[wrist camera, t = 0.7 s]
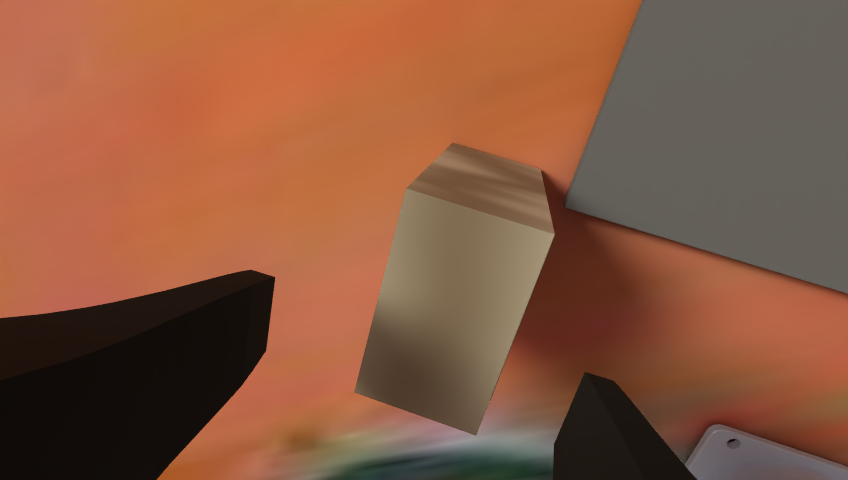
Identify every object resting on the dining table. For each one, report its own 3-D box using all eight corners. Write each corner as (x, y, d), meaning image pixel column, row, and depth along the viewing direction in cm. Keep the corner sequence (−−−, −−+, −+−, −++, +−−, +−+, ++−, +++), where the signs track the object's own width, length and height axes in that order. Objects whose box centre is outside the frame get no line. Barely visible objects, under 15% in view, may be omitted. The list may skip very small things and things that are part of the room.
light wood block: (544, 170, 18) (561, 236, 10) (495, 303, 20) (481, 437, 13) (452, 142, 18) (406, 188, 11) (414, 277, 20) (353, 392, 13)
